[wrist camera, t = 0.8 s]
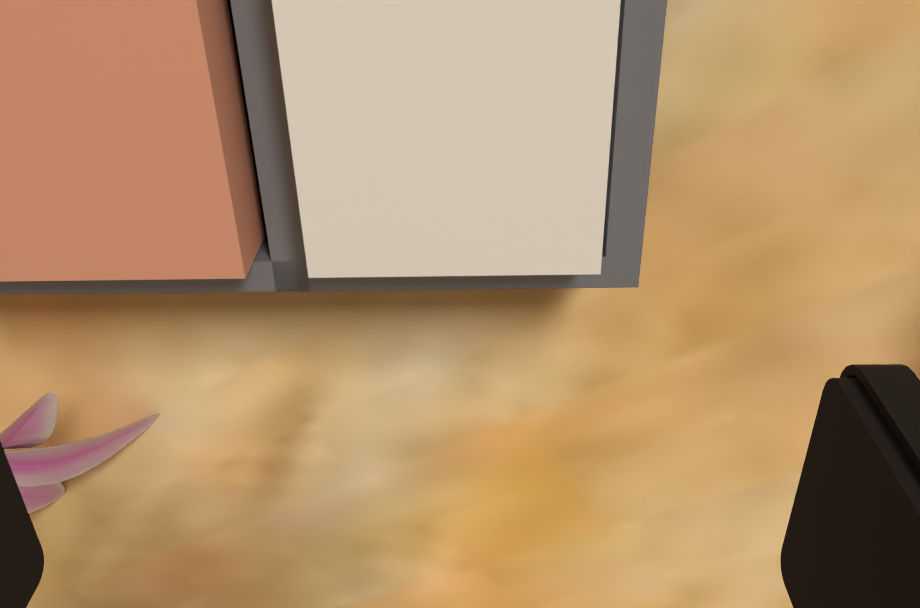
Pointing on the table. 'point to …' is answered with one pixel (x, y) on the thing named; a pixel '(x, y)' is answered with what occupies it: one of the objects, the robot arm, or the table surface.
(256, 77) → the key console
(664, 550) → the table surface
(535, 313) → the table surface
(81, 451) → the lily
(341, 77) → the key white
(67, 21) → the key terracotta
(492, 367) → the table surface
